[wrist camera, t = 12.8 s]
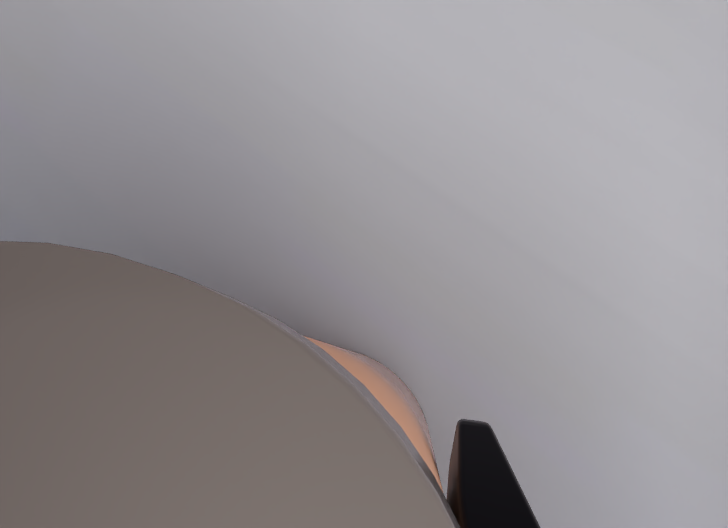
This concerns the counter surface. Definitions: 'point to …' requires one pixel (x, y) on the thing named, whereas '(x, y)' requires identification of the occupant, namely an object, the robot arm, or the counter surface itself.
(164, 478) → the shaker
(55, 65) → the counter surface
